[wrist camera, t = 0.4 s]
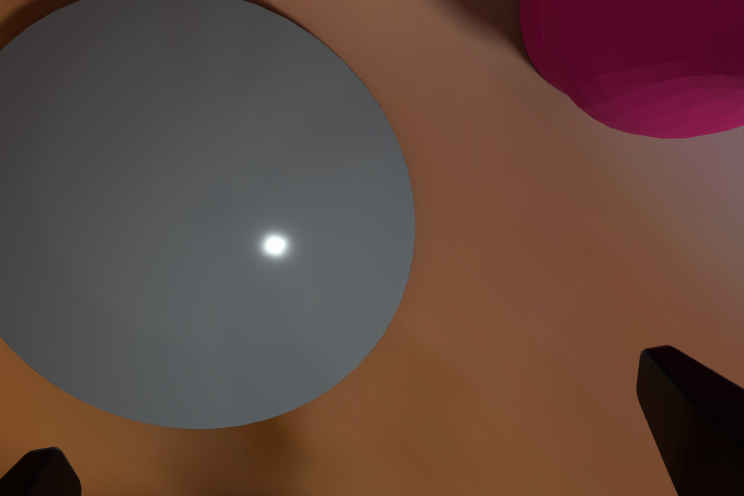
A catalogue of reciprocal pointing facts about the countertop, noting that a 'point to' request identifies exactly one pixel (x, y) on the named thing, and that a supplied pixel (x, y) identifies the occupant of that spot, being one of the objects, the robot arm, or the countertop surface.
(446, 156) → the countertop surface
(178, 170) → the disc
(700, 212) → the countertop surface
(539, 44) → the pepper mill
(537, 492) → the countertop surface
